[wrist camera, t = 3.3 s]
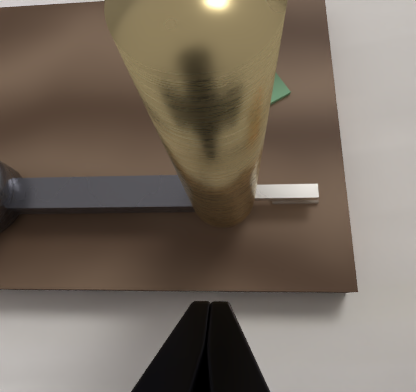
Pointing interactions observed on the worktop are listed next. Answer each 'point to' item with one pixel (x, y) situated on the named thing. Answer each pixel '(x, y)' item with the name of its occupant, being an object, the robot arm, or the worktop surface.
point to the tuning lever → (183, 114)
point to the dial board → (165, 167)
